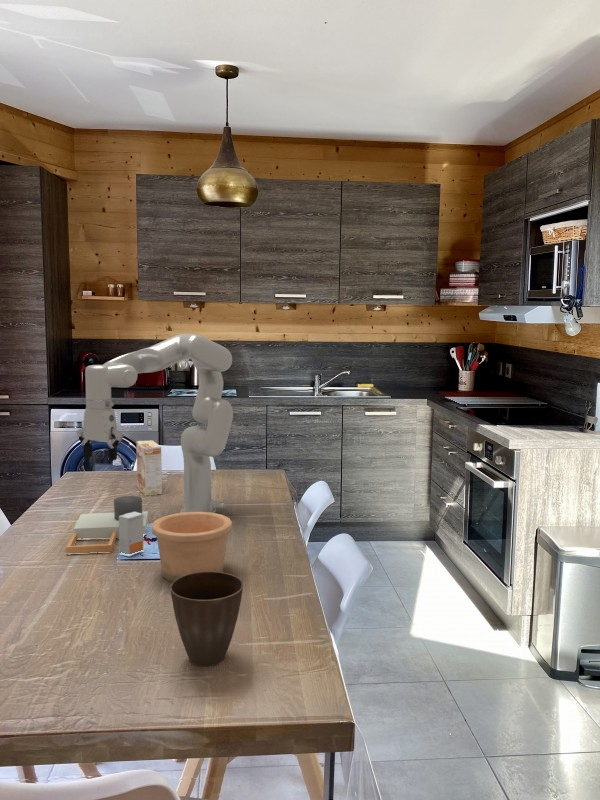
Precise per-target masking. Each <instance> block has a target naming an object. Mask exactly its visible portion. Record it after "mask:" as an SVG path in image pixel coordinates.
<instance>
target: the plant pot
mask: <svg viewBox="0 0 600 800" xmlns="http://www.w3.org/2000/svg"><path fill="white" fill-rule="evenodd" d="M169 587H170V588H169V589H170V595H171V596H170V597H171V600H172V601H171V602H172V606H173V607H172V608H173V613H174V617H175V622H176V624H177V625H176V626H177V629H178V631H179V635H180V639H181V642H182V645H183V647H184V649H185V652H186V655H187V657H188V659H189V661H190V662H191V663H192V664H194V665H195V666H199V667H210V666H211V667H212V666H215V665H218V664H220V663H222V662H223V661H224V659H225V657H226V655H227V652H228V649H229V647H230V645H231V641H232V638H233V635H234V632H235V630H236V629H235V628H236V625H237V621H238V616H239V613H240V609H241V608H240V607H241V603H242V596H243V590H244V582H243V581H242V579H241V578H240V577H238V576H236V575H234V574H232V573H227V572H224V571H223V572H197V573H191V574H188V575H184V576H182V577H180V578H178V579H176V580H175V581H174V582H171V584H170V585H169Z"/></svg>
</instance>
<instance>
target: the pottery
mask: <svg viewBox="0 0 600 800" xmlns="http://www.w3.org/2000/svg"><path fill="white" fill-rule="evenodd" d="M232 529H233V522H232V520H231V518H230V517H228V516H226V515H224V514H220V513H217V512H216V513H211V512H183V513H180V512H178V513H177V512H176V513H173V514H169V515H165V516H162V517H160V518H157V519H156V520H154V522H153V523H152V524H151V532H152V535H154V536H155V537H156V541H157V548H158V552H159V553H158V555H159V560H160V566H161V571H162V572H161V573H162V577H163V578H164V579H166V580H167V582H171V583H173V582H174V581H175V580H176V579H178V578H180V577H182V576H184V575H188V574H191V573H197V572H223V573H224V564H225V558H226V553H227V551H226V550H227V544H228V536H229V535H228V534H229V533H230V532H231V530H232Z"/></svg>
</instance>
